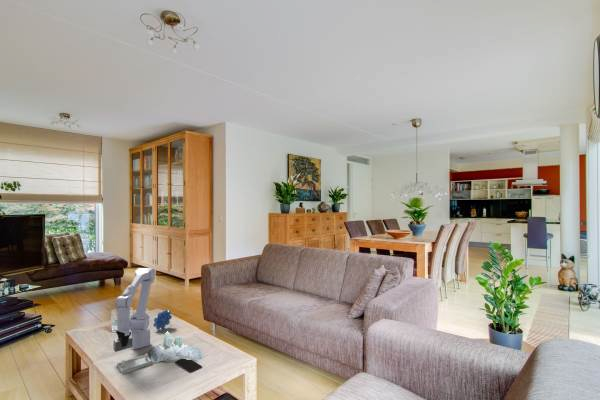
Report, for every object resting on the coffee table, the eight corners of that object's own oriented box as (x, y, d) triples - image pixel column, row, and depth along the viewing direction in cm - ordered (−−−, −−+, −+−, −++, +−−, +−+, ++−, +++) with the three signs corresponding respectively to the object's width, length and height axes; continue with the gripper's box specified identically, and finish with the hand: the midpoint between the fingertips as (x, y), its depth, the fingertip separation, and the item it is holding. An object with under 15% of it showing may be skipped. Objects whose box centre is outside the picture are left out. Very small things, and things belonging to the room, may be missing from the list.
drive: (130, 344, 169) (130, 335, 169) (132, 347, 166) (132, 337, 166) (113, 349, 163) (113, 339, 163) (115, 352, 160) (115, 342, 160)
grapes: (168, 324, 212) (169, 306, 212) (173, 327, 207) (173, 309, 207) (150, 329, 204) (151, 310, 204) (154, 332, 199) (155, 313, 199)
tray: (146, 357, 167) (146, 349, 167) (152, 363, 161) (152, 356, 161) (117, 366, 158) (117, 358, 158) (122, 374, 151) (122, 365, 151)
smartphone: (190, 372, 152) (173, 361, 162) (190, 375, 153) (173, 364, 162) (203, 366, 158) (186, 356, 167) (203, 368, 158) (186, 358, 167)
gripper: (111, 317, 167) (111, 342, 167) (118, 325, 156) (118, 352, 156) (126, 313, 172) (125, 338, 172) (134, 321, 161) (133, 347, 161)
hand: (123, 344), depth 164 cm, fingers closed on drive, 4 cm apart
